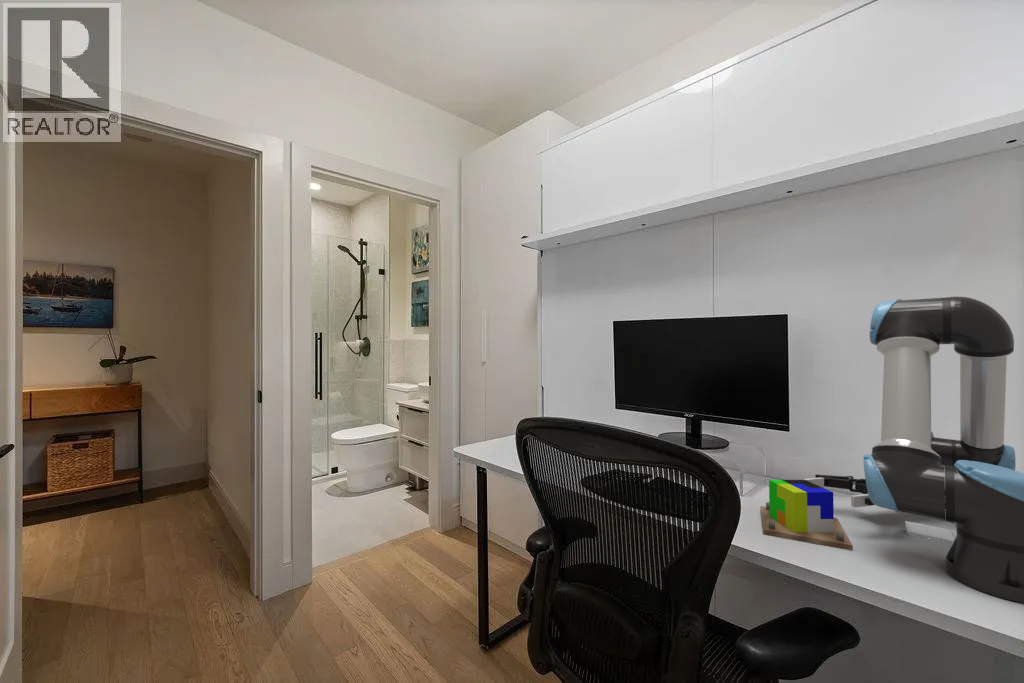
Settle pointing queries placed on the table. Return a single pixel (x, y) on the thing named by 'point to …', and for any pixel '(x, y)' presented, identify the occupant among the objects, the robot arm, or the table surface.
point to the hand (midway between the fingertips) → (827, 492)
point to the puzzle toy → (801, 505)
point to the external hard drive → (930, 532)
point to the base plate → (822, 538)
